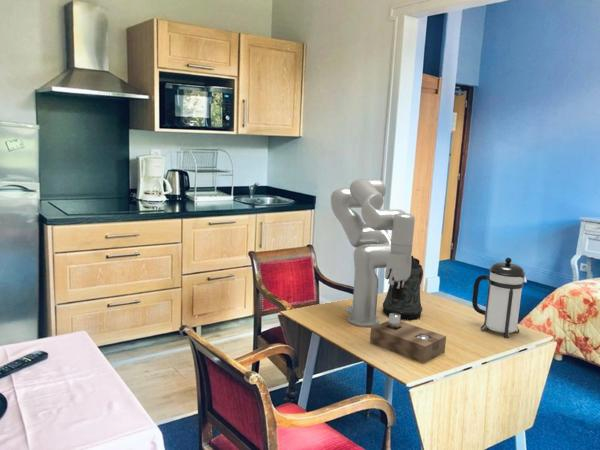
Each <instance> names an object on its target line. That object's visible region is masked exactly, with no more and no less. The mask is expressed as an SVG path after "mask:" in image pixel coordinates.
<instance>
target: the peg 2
mask: <svg viewBox="0 0 600 450" xmlns="http://www.w3.org/2000/svg"><path fill="white" fill-rule="evenodd" d="M417 338H420V339H423V340H428V339H429V337H428V336H427V335H417Z"/></svg>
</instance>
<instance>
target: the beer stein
mask: <svg viewBox="0 0 600 450" xmlns="http://www.w3.org/2000/svg"><path fill="white" fill-rule="evenodd" d="M420 262H421V261H420V259H418V258H415V256H413V255H411V274H410V277H409V278H408V279H407V280H406V281H405V282H404V287H403V289H402V298H401V299H399V300H398V299H395V298H392V285H390V284H388V290H387V292H386V295H385V298H384V301H383V303H382V310H383V311H382V312H383V314H384V315H385V316H387V317H388V318H389V314H390V313H397V314H400V315H401V316H400V321H414V320H418V319H419V318H421V314H422V312H423V307H422V303H421V284H422V283H423V277H424V270H423V267H422V266H423V265H421V263H420Z"/></svg>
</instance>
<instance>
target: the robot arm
mask: <svg viewBox="0 0 600 450" xmlns="http://www.w3.org/2000/svg"><path fill="white" fill-rule="evenodd" d="M386 190H387V188H386V186H385V183H384V182H383V181H382V180H381V179H378V178H358V179H355V180H353V181H352V182H351V184H349V187H341V188H337V189H335V190H333V191H332V192H331V194H330V195H331V196H330V206H331V210H332V212H333V214H334V216H335V218H336V219H337V220H338V222H339V223H340V225H341V226H342V229H343V230H344V232H345V235H346V238H347V240H348V241H349V243H350V244H351V246H352V247H353V248H355V249H354V251H353V263H354V278H353V279H354V282H353V298H352V306H351V305H347V306H346V308H345V312H347V313H349V315H348V317H347V321H348V322H349V323H350V324H352V325H354V326H359V327H365V328H366V327H369V328H371V327H373V326H376V325H378V324H380V318H378V317H377V307H378V306H377V305H378V293H379V277H378V274H377V273H376V272H375V269H383V268H385V272H384V273H385V275H384V278H385V279H386V280H388V285H392V298H395V299H398V300H399V299H401V298H402V289H403V287H404V282H405V281H406V280H407V279H408V278H409V277H410V274H411V256H412V252H413V244H414V231H415V223H416V221H415V220H416V219H415V216H414V215H413V214H411V213H407V212H405V211H404V210H402V209H391V208H389V209H387V208H386V209H381V207H382V206H383V204H384V197H385V196H386V193H387V192H386ZM356 208H357V209H358V208H359V209H361V212H360V213H361V216H360V214H358V212H356V211H355V210H353V209H356ZM387 231H391V237H390V236H389V234H388V232H387Z"/></svg>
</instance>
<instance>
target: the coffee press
mask: <svg viewBox="0 0 600 450" xmlns="http://www.w3.org/2000/svg"><path fill="white" fill-rule="evenodd" d="M504 260H505V261H504V262H503V261H502V262H500V261H499V262H495V263H493V264H492V265H491V267H490V268H489V275H487V274H483V275H479V276H478V277H476V279H475V280H474V284H473V289H472V299H471V303H472V307H473V309H474V311H475V312H477V313H478V314H480V315H483V316H484V322H483V324H482V325H481V327H480V330H481V331H482V332H486V331H487V330H490V331H494V332H497V333H502V334H503V338H504V339H509V337H510V333H514V332H515V333H516V334H519V333H520V329H519V327H518V323H519V313H520V306H521V300H522V299H521V297H522V291H523V288H524V283H527V277H526V272H525V271H524V268H523V267H522V266H521V265H518V264H515V263H512V258H510V257H506V258H505V259H504ZM481 281H488V289H487V296H486V305H485V310H484V309H481V308H480V306H478V299H479V298H478V297H479V288H480V283H481ZM484 327H485V328H484Z"/></svg>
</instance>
